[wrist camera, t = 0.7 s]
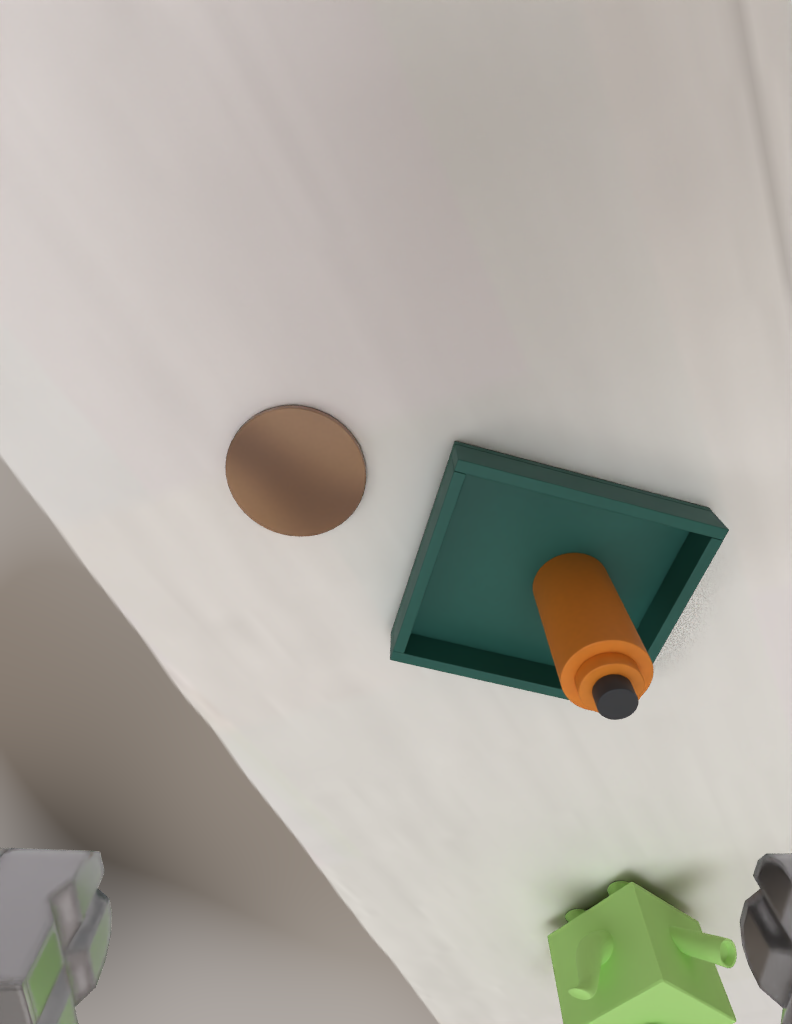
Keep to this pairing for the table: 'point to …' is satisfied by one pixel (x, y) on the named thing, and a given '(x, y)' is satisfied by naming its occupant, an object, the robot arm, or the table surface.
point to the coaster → (296, 470)
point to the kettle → (639, 963)
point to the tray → (539, 564)
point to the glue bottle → (591, 636)
